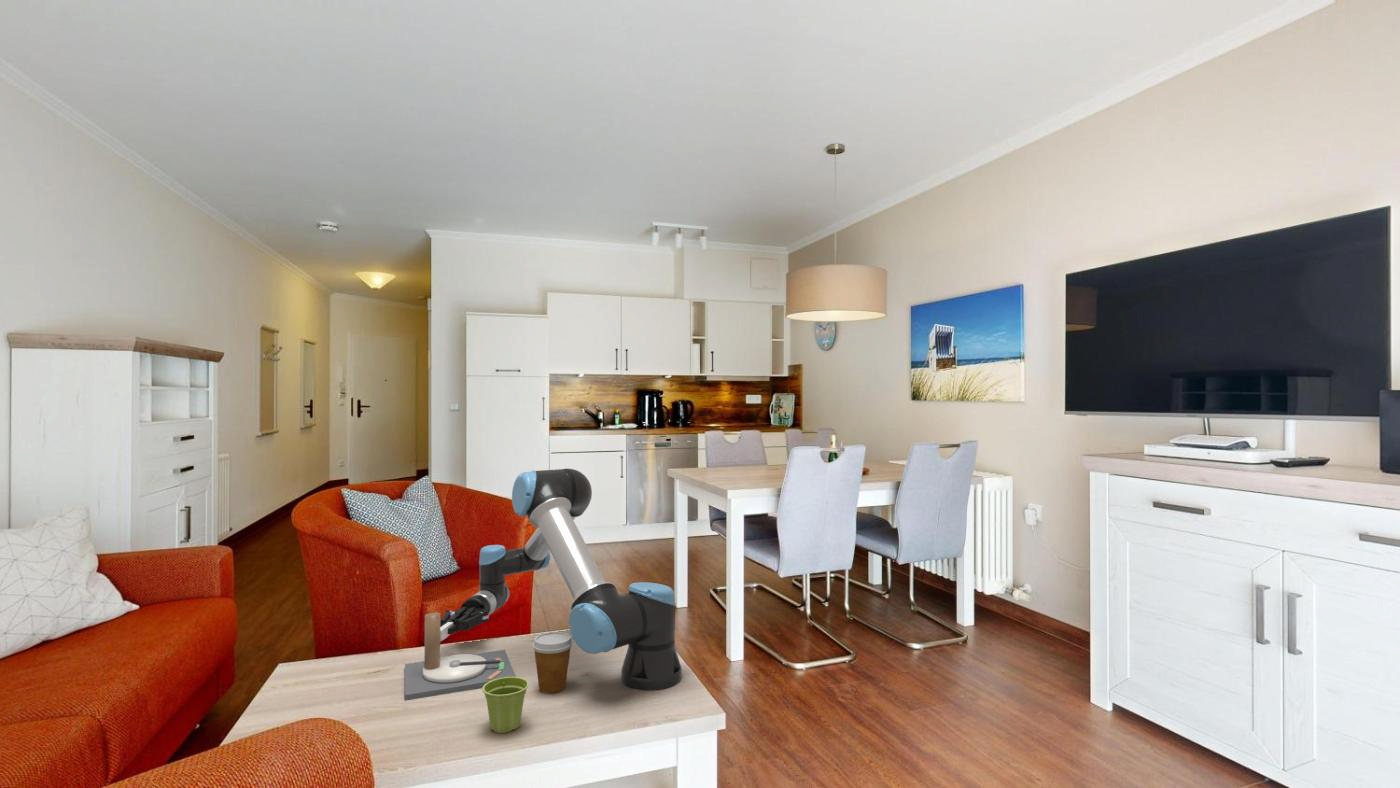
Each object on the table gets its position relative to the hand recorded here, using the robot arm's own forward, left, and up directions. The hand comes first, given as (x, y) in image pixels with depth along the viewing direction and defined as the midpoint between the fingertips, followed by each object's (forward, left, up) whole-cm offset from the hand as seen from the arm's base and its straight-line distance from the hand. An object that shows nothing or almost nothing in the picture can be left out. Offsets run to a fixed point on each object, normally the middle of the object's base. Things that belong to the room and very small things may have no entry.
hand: (438, 635), depth 167 cm
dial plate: (-4, -4, -9) cm, 11 cm away
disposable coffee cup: (-21, -25, -9) cm, 34 cm away
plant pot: (-36, -12, -9) cm, 39 cm away
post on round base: (-5, -4, -8) cm, 10 cm away
